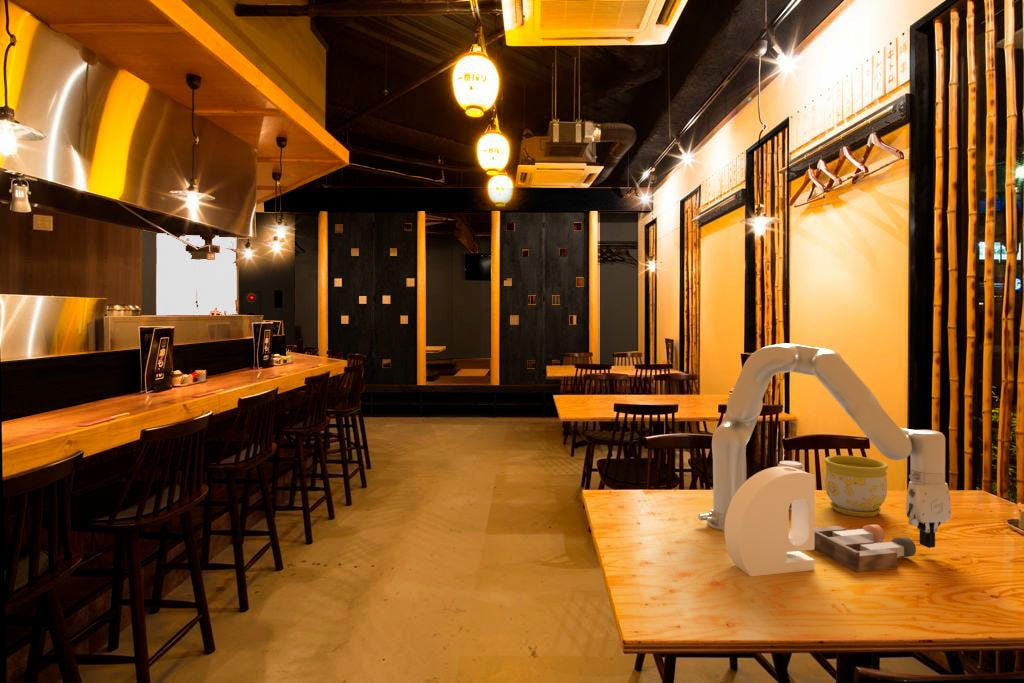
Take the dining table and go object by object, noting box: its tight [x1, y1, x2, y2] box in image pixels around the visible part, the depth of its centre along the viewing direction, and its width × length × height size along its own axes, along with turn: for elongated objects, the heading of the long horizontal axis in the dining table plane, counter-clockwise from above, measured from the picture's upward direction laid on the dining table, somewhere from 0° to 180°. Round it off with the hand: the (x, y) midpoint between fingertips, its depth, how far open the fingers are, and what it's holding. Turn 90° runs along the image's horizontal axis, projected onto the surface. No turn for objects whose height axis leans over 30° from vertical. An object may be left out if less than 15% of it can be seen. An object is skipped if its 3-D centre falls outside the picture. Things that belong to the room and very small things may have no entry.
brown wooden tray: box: [814, 525, 898, 573], centre depth 157 cm, size 12×20×5 cm, turn 11°
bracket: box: [723, 466, 816, 577], centre depth 149 cm, size 7×21×25 cm, turn 101°
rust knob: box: [832, 524, 886, 543], centre depth 164 cm, size 13×5×5 cm, turn 101°
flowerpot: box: [824, 455, 889, 518], centre depth 193 cm, size 18×18×16 cm
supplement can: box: [776, 460, 805, 511], centre depth 198 cm, size 8×8×15 cm
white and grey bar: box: [860, 536, 917, 558], centre depth 154 cm, size 13×5×5 cm, turn 101°
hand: (927, 545), depth 156 cm, fingers closed
